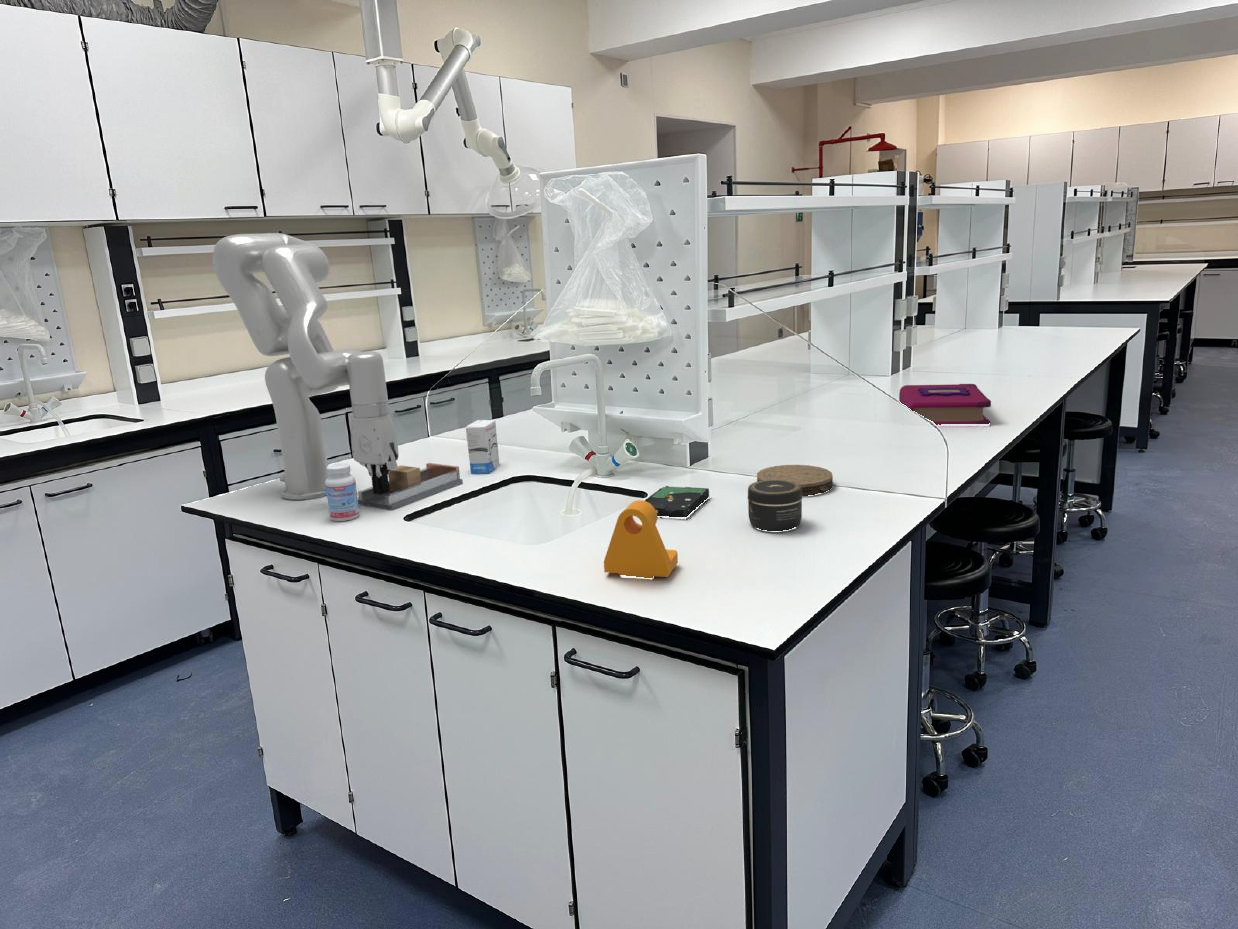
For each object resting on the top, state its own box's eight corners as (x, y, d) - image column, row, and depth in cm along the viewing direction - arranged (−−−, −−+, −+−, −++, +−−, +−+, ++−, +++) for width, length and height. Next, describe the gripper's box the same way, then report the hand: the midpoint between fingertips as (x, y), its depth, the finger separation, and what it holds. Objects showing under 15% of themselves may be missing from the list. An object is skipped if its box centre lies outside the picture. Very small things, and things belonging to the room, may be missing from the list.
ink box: (488, 474, 209) (484, 426, 206) (469, 474, 210) (464, 426, 207) (500, 464, 218) (496, 419, 215) (481, 464, 219) (477, 419, 216)
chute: (357, 504, 191) (355, 486, 190) (428, 478, 208) (426, 462, 207) (392, 510, 185) (390, 492, 184) (462, 483, 202) (461, 466, 201)
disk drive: (686, 523, 168) (710, 500, 181) (686, 509, 167) (709, 487, 180) (637, 519, 172) (663, 496, 185) (636, 506, 171) (662, 484, 184)
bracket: (679, 565, 145) (676, 497, 142) (667, 581, 139) (664, 510, 136) (618, 561, 149) (614, 494, 146) (604, 576, 142) (600, 507, 139)
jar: (738, 522, 165) (737, 483, 163) (784, 513, 168) (784, 475, 166) (765, 537, 156) (764, 497, 154) (812, 528, 159) (812, 488, 157)
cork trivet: (763, 500, 178) (763, 486, 177) (751, 479, 193) (751, 466, 192) (841, 496, 178) (841, 482, 177) (822, 475, 193) (822, 462, 193)
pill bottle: (329, 523, 178) (321, 471, 175) (330, 515, 184) (323, 464, 181) (360, 519, 179) (352, 467, 177) (360, 511, 185) (353, 460, 182)
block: (390, 491, 195) (387, 469, 194) (403, 486, 198) (400, 465, 197) (409, 494, 192) (406, 472, 190) (422, 489, 195) (419, 467, 194)
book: (907, 428, 233) (908, 400, 231) (898, 408, 259) (899, 382, 257) (990, 428, 228) (992, 399, 226) (973, 407, 255) (974, 381, 253)
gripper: (333, 411, 185) (345, 493, 190) (381, 416, 177) (392, 501, 182) (360, 405, 191) (371, 484, 196) (408, 409, 183) (418, 492, 188)
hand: (381, 492), depth 189 cm, fingers closed
